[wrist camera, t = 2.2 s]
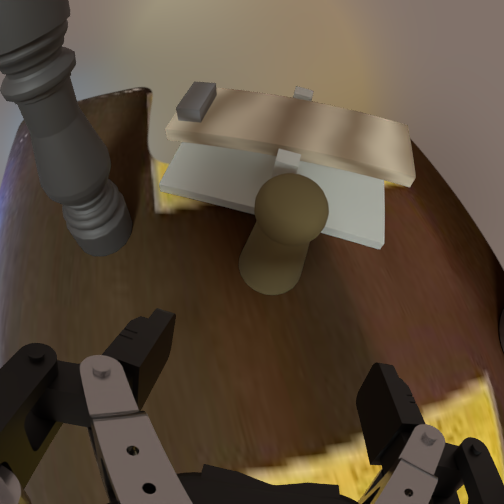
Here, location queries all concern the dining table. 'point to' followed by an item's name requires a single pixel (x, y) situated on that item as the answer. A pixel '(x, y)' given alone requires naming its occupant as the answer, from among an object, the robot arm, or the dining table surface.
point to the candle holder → (60, 124)
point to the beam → (294, 131)
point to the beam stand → (268, 166)
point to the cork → (282, 232)
